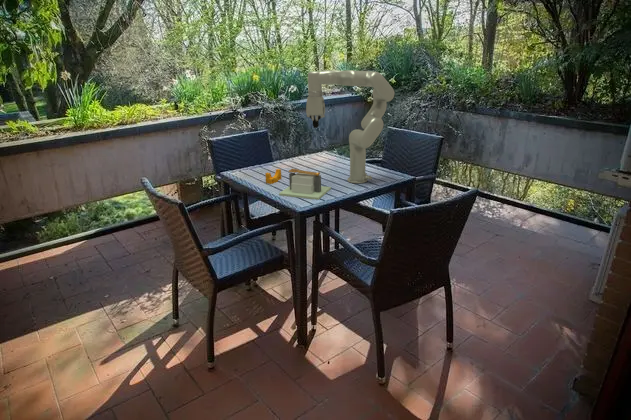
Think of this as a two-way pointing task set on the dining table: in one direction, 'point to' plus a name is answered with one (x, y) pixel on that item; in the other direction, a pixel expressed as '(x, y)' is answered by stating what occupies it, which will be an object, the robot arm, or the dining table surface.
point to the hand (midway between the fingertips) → (315, 127)
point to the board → (309, 196)
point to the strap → (304, 172)
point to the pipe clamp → (273, 179)
